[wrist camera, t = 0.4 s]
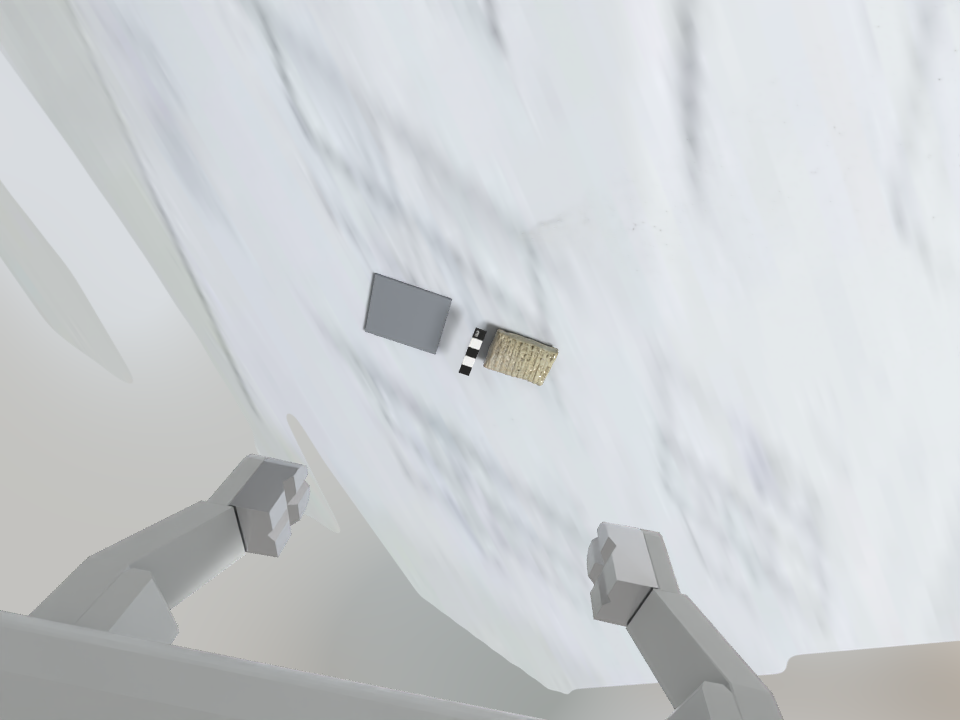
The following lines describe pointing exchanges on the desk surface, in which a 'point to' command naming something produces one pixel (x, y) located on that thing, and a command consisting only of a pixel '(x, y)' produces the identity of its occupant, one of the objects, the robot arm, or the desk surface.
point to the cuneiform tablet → (512, 356)
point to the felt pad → (406, 314)
